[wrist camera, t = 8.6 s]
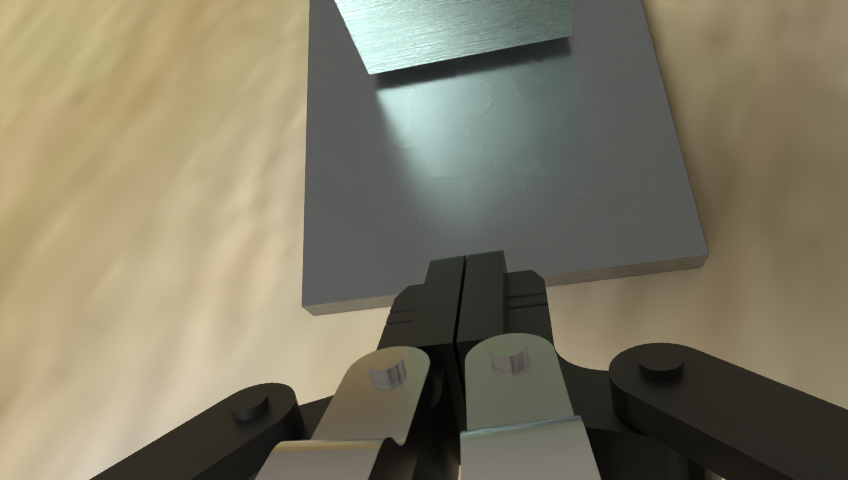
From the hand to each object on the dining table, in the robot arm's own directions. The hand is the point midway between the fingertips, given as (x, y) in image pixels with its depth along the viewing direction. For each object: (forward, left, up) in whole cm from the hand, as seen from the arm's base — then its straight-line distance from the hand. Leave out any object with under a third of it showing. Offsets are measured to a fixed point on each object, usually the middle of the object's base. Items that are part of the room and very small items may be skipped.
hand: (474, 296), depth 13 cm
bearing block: (-12, -8, -6) cm, 16 cm away
